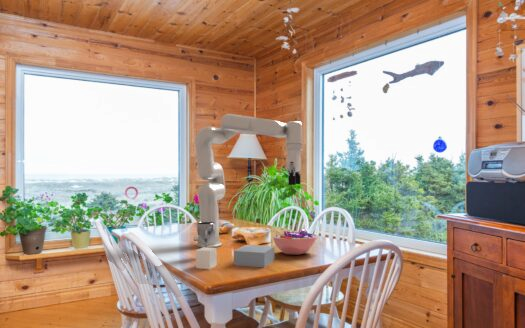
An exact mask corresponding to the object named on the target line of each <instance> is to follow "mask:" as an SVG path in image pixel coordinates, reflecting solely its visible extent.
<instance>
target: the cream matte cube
mask: <svg viewBox="0 0 525 328" xmlns="http://www.w3.org/2000/svg"><path fill="white" fill-rule="evenodd" d="M217 248H218V247H212V248H207V247H203V248H202V247H199V248H198V249H196V250H195V268H196V269H202V270H203V269H204V270H212V269H213V268H215V267H216V266H217V265H218V261H217V259H218V256H217V255H218V254H217V252H218V251H217V250H218V249H217Z"/></svg>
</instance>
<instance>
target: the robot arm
mask: <svg viewBox="0 0 525 328" xmlns="http://www.w3.org/2000/svg"><path fill="white" fill-rule="evenodd" d="M220 125H221V126H219V127H215V126H205V127H202V128H201V129H200V130H198V132H197V134H196V135H195V137H194V138H195V139H194V148H195V153H196V163H197V165H196V166H197V173H198V176H199V178H200V180H203V181H207V182H205V183H203V184H201V185H200V187H199V188H198V191H197V199H198V204H199V222H215V230H214V235H213V237H212V238H211V239H210V240H209V242H208V244H207V248H218V247H221V246H222V245H223V242H221V241H220V228H219V227H220V224H219V223H220V216H219V213H220V212H219V206H218V205H219V204H218V201H220V200H222V199H223V198H224V197H225V194H226V181H225V173H224V169H223V167H222V165H221V164H220V163H218V162H217V161H215V157H214V152H213V148H212V144H213V145H223V144H225V143H226V142H227V141H229V140H230V139H232V138H233V137H235V136H236V135H237V134H239V133H241V134H246V135H260V136H267V137H273V138H276V139H283V138H285V150H286V165H285V166H286V168H285V169H286V172H288V174H287V175H288V176H287V177H288V182H287V183H288V186H296V185H301V170H302V160H301V159H302V157H301V152H302V151H303V124H302V122H301V121H300V120H299V121H296V120H293V121H287V122H281V121H279V120H275V119H274V120H273V119H269V118H261V117H255V116H254V117H253V116H248V115H247V116H245V115H240V114H233V113H226V114H224V115H223V116H222V117H221V120H220ZM193 241H194V242H197V243H196V247H199V248H203V247H205V245H204V242H203V241H202V240H201V239H200V237H199V236H194V237H193Z"/></svg>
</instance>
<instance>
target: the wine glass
mask: <svg viewBox="0 0 525 328" xmlns="http://www.w3.org/2000/svg"><path fill="white" fill-rule="evenodd" d="M214 230H215V222H200V221H198V222H196V232H197V237H200V239H201V240H202V241H203V242H204V245H205V247H207V244H208V242H209V240H210V239H211V238H212V237H213V235H214Z"/></svg>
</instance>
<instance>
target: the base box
mask: <svg viewBox="0 0 525 328" xmlns="http://www.w3.org/2000/svg"><path fill="white" fill-rule="evenodd" d="M275 257H276V256H275V246H272V245H258V244H255V245H254V244H245V245H243V246H241V247H239V248H237V249H234V250H233V265H234V266H242V267H255V268H256V267H257V268H266V267H267V266H269V265H270V264H271V263H273V262H274V261H275V259H276V258H275Z"/></svg>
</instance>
